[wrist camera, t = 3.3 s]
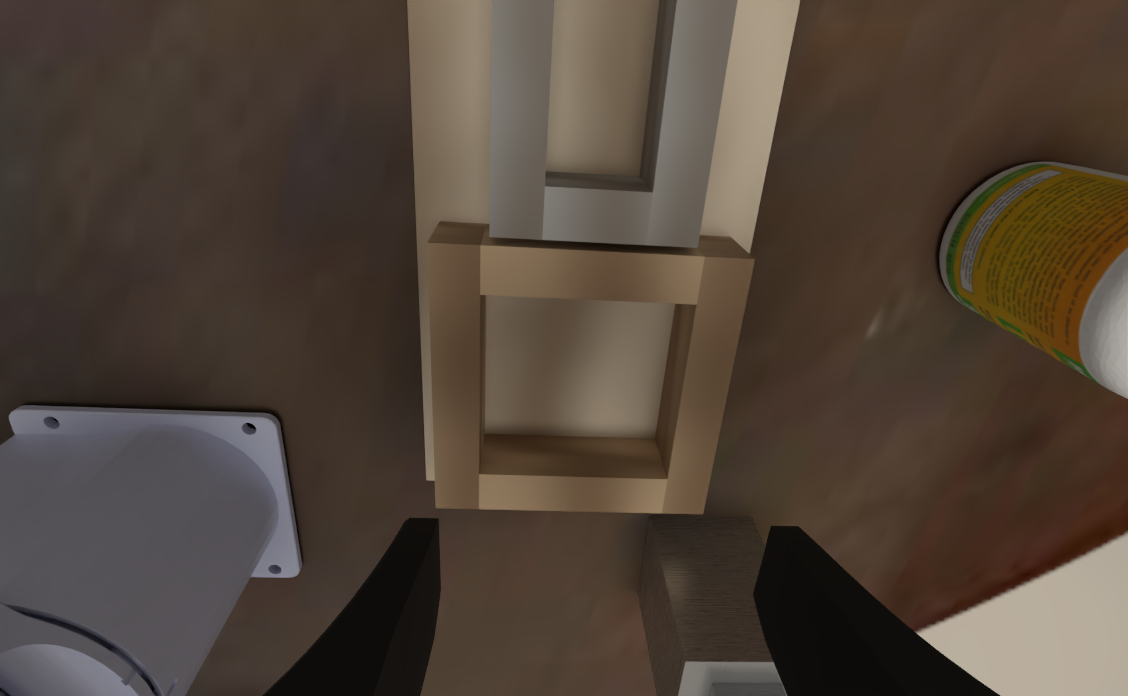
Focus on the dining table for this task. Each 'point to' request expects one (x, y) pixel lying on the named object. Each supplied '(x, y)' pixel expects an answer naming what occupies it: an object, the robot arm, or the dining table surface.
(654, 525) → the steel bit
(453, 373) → the socket board
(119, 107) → the dining table surface
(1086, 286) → the supplement bottle
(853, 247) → the dining table surface
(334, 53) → the dining table surface
